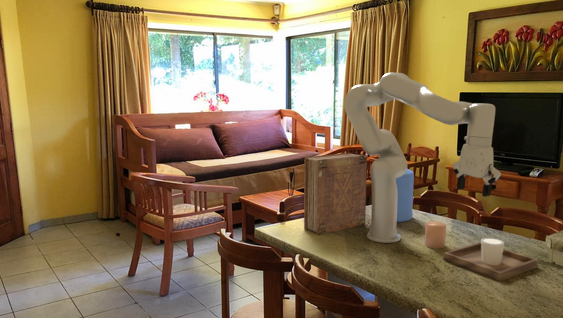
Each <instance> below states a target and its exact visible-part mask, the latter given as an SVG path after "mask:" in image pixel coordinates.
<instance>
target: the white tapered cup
mask: <svg viewBox="0 0 563 318" xmlns="http://www.w3.org/2000/svg"><path fill="white" fill-rule="evenodd" d="M480 242H481V255H482V262H483V263H486V264H489V265H500V264H501V259H502V254H503V249H504V248H505V247H504V246H505V242H504V241H503V240H501V239H498V238H493V237H484V238H481V239H480Z"/></svg>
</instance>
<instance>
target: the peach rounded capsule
mask: <svg viewBox="0 0 563 318" xmlns="http://www.w3.org/2000/svg"><path fill="white" fill-rule="evenodd" d="M424 230H425V231H424V233H425V234H424V246H425V247H427V248H430V249H436V250H437V249H438V250H439V249H440V250H441V249H444V248H445V247H446V235H447V224H446V223H444V222H440V221H433V220H432V221H426V222H425V229H424Z"/></svg>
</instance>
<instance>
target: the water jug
mask: <svg viewBox="0 0 563 318" xmlns="http://www.w3.org/2000/svg"><path fill="white" fill-rule="evenodd" d="M414 182H415V175H414V171H412V170H411V169H408V168H407V171H406V173H405V174H404V175H403V176H401V177H399V178H397V179H396V184H397V191H398V198H397V223H402V222H408V221H410V220H412V219H413V201H414Z"/></svg>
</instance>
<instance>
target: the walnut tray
mask: <svg viewBox="0 0 563 318" xmlns="http://www.w3.org/2000/svg"><path fill="white" fill-rule="evenodd" d="M443 261H446V262H449V263H450V264H453V265H456V266H458V267H462V268H464V269H466V270H469V271H472V272H474V273H477V274H479V275H482V276H484V277H487V278H490V279H493V280H495V281H497V282H502V281H505V280H508V279H510V278H513V277H516V276H518V275H521V274H523V273H526V272H528V271H531V270H534V269H536V268H538V265H539V260H538V259H537V258H534V257H531V256H528V255H527V256H526V255H524V254H521V253H518V252H514V251H511V250H508V249H506V248H505V249H504V248H503V254H502V259H501V264H500V265H489V264H486V263H483V262H482V255H481V241H480V242H476V243H472V244H469V245H465V246H463V247H459V248H456V249H452V250H448V251H445V252H443Z"/></svg>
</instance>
